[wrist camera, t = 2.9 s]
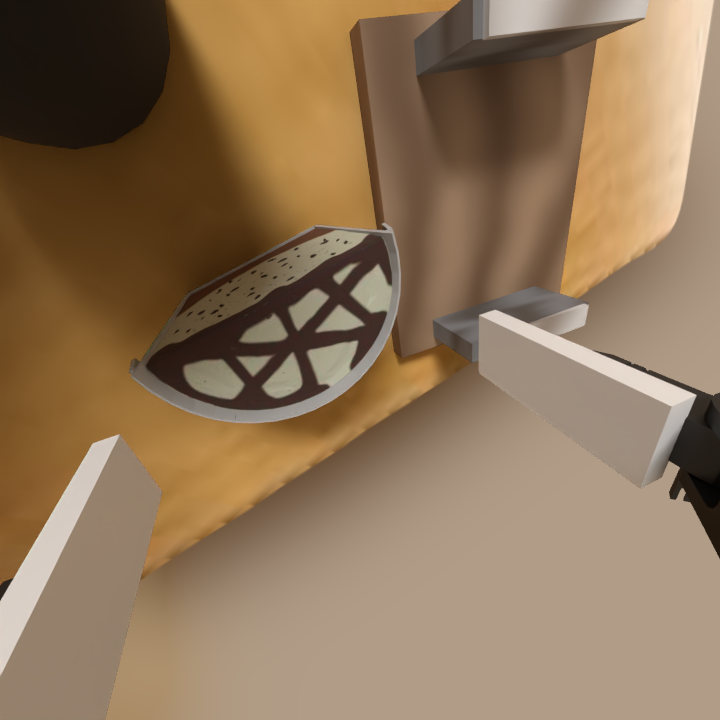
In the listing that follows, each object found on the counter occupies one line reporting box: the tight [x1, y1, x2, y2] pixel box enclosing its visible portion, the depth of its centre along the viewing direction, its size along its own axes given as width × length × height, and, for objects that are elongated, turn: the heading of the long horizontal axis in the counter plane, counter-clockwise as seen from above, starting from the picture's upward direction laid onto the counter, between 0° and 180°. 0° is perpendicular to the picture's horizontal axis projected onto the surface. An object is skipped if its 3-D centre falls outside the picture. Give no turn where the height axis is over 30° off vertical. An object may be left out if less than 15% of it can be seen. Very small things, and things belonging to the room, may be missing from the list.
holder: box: [350, 0, 649, 363], centre depth 21 cm, size 16×20×7 cm
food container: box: [129, 223, 401, 423], centre depth 18 cm, size 12×6×10 cm, turn 114°
